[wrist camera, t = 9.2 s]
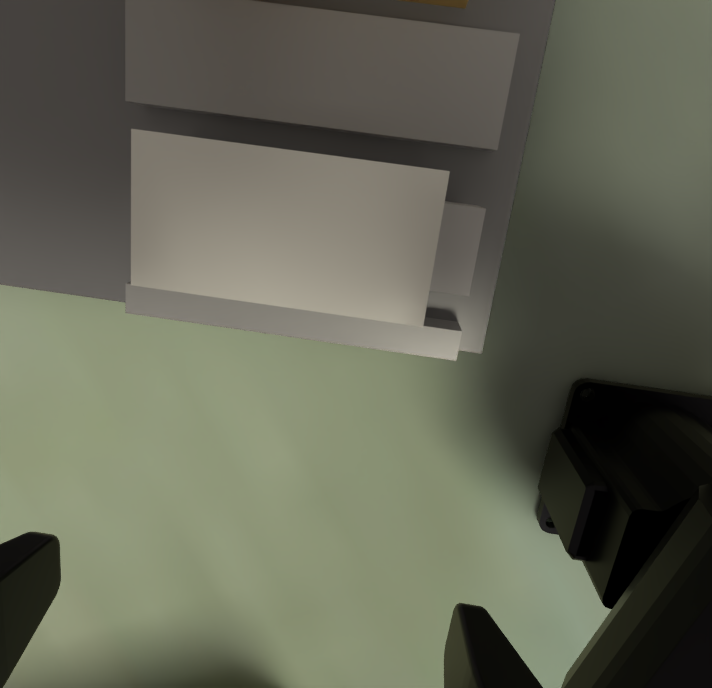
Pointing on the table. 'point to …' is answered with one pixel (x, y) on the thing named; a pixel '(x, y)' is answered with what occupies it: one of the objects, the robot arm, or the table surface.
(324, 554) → the table surface
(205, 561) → the table surface
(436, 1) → the amber plug
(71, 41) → the organiser
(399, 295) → the grey plug
